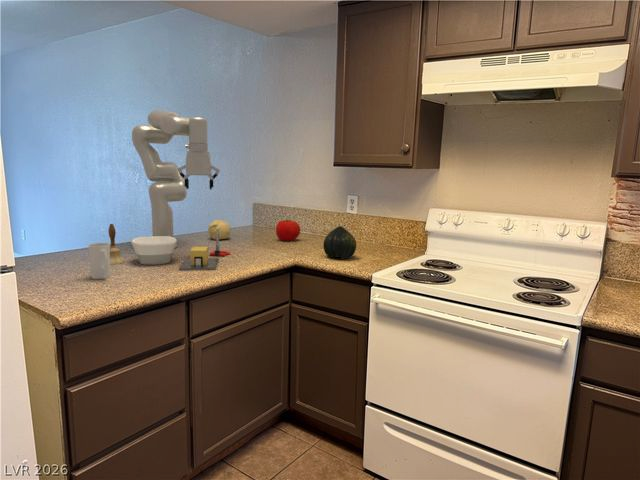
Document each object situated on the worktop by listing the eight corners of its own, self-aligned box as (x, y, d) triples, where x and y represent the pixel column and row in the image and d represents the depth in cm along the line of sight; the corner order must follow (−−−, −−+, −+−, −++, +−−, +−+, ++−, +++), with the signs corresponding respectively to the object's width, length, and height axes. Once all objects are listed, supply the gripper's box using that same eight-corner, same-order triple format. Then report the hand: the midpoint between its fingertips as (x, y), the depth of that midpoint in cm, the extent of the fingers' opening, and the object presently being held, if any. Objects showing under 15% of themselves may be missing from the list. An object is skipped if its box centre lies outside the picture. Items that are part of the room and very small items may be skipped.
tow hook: (215, 252, 211) (207, 255, 202) (215, 225, 210) (208, 227, 201) (232, 254, 210) (225, 257, 201) (233, 226, 209) (226, 228, 200)
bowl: (131, 258, 193) (130, 237, 191) (175, 256, 200) (174, 235, 198) (132, 267, 177) (131, 244, 175) (179, 264, 184) (178, 242, 182)
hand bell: (101, 265, 180) (98, 225, 177) (105, 260, 188) (102, 222, 185) (123, 264, 182) (121, 225, 180) (126, 259, 190) (124, 222, 187)
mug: (87, 276, 162) (85, 244, 160) (107, 273, 167) (105, 242, 165) (97, 282, 155) (95, 248, 153) (117, 279, 160) (115, 246, 158)
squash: (338, 250, 194) (352, 223, 199) (312, 247, 204) (327, 220, 209) (353, 268, 203) (366, 241, 208) (328, 264, 213) (341, 238, 219)
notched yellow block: (190, 265, 180) (190, 250, 179) (193, 260, 188) (193, 246, 187) (206, 265, 181) (206, 250, 180) (208, 260, 189) (207, 246, 188)
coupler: (178, 270, 175) (178, 257, 174) (185, 260, 192) (185, 248, 191) (215, 270, 177) (215, 257, 176) (218, 259, 195) (218, 248, 194)
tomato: (278, 238, 253) (278, 217, 251) (301, 239, 252) (302, 218, 250) (273, 241, 241) (273, 220, 239) (297, 243, 240) (298, 221, 238)
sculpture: (209, 237, 250) (209, 218, 248) (231, 237, 251) (231, 218, 249) (206, 241, 238) (206, 220, 237) (229, 241, 240) (229, 221, 238)
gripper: (175, 147, 183) (176, 189, 186) (218, 148, 186) (219, 190, 189) (178, 147, 190) (179, 188, 193) (220, 148, 193) (220, 188, 196)
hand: (199, 189), depth 191 cm, fingers open, 9 cm apart
